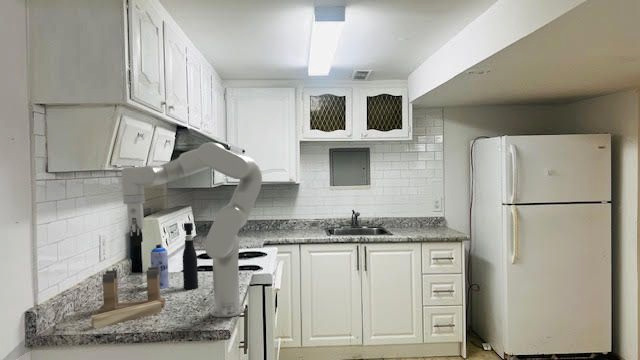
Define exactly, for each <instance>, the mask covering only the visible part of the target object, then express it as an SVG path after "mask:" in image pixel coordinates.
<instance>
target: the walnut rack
mask: <svg viewBox="0 0 640 360" xmlns="http://www.w3.org/2000/svg"><path fill="white" fill-rule="evenodd" d="M101 276H102V293H103V294H102V295H103V304H102V305H101V306H100V307H99V308H98V311H97V312H98V314H102V313H106V312H110V311H114V310H119V309H123V308H127V307H131V306H136V305H140V304H144V303H148V302H153V301H159V302H161V308H165V305H166V297H161V289H160V285H159V266H158V267H151V266H149V267H147V270H146V290H147V291H146V292H147V299H142V300H132V301H124V302H119V288H118V287H119V286H118V285H119V284H118V270H117V269H114V270H113V269H112V270H106V271H105V273H103V274H102V275H101Z"/></svg>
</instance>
